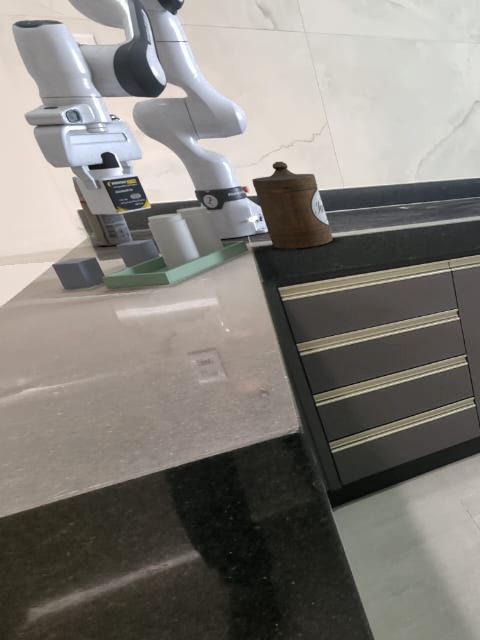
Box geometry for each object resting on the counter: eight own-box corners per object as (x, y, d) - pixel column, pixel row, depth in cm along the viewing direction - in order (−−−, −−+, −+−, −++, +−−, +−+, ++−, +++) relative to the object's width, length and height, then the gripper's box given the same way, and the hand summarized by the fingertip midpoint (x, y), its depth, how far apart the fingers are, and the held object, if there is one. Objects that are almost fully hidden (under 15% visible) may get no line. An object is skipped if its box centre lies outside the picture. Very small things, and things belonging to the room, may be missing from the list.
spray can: (131, 239, 167) (101, 173, 159) (139, 242, 163) (108, 174, 154) (96, 245, 161) (62, 176, 153) (103, 248, 157) (68, 177, 148)
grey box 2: (141, 264, 136) (131, 240, 133) (162, 262, 136) (152, 239, 133) (127, 269, 131) (115, 245, 129) (149, 267, 132) (138, 244, 129)
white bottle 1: (179, 264, 131) (158, 214, 126) (209, 262, 132) (189, 212, 127) (161, 271, 125) (137, 219, 120) (191, 269, 126) (170, 217, 120)
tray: (199, 255, 142) (194, 243, 141) (249, 251, 143) (244, 240, 142) (108, 291, 114) (101, 277, 113) (171, 286, 115) (165, 272, 114)
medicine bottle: (118, 214, 110) (89, 153, 105) (91, 214, 111) (61, 153, 106) (152, 208, 116) (126, 149, 111) (126, 208, 117) (100, 150, 112)
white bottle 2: (204, 254, 140) (185, 207, 135) (231, 252, 141) (213, 205, 136) (188, 260, 134) (167, 212, 129) (216, 259, 135) (197, 210, 129)
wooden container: (341, 241, 150) (317, 159, 141) (283, 252, 141) (254, 165, 131) (322, 235, 160) (299, 158, 150) (266, 245, 150) (238, 163, 140)
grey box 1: (84, 284, 119) (71, 258, 117) (108, 283, 120) (95, 257, 117) (65, 291, 115) (51, 264, 112) (90, 289, 115) (77, 262, 113)
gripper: (103, 114, 114) (132, 181, 120) (14, 115, 96) (54, 194, 102) (134, 113, 115) (162, 179, 121) (52, 113, 97) (90, 192, 103)
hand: (112, 186), depth 111 cm, fingers closed on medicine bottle, 8 cm apart
